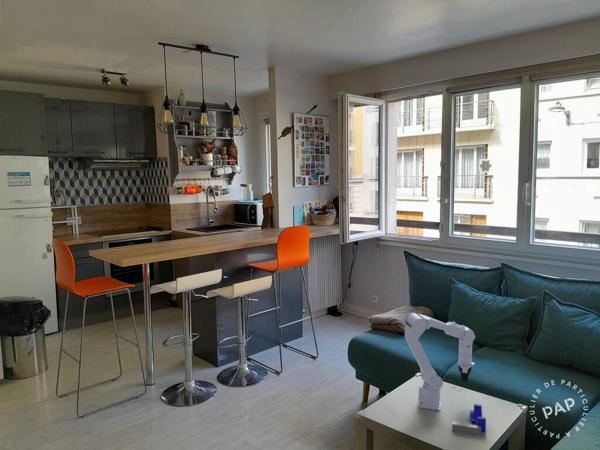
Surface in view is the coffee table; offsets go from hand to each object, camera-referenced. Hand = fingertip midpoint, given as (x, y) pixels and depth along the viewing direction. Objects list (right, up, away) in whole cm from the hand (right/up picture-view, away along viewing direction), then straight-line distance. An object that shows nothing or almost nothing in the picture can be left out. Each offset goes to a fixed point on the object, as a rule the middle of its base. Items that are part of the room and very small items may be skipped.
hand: (464, 381), depth 210 cm
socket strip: (-8, -13, -23) cm, 28 cm away
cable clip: (-1, -12, -17) cm, 21 cm away
